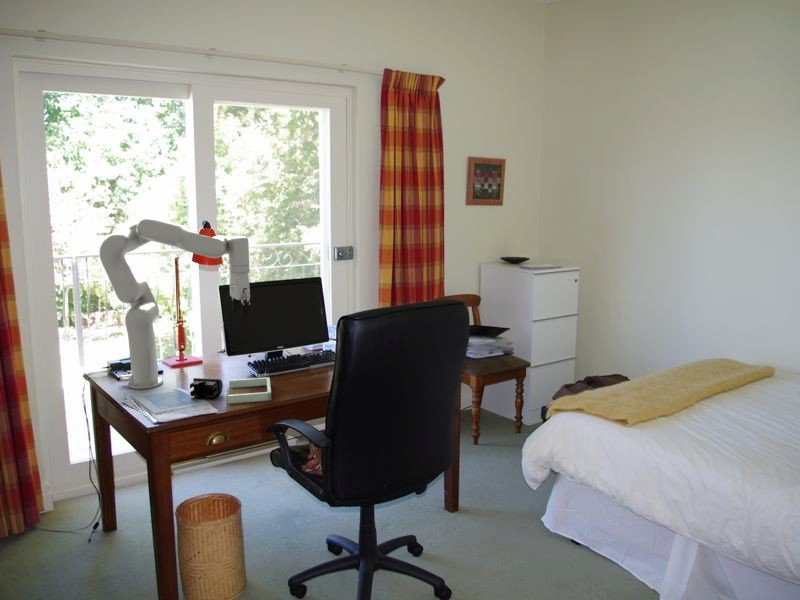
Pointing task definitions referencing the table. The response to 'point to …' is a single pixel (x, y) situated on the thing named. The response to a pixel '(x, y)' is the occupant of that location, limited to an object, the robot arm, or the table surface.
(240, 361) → the table surface
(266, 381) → the holder
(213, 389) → the end cap
